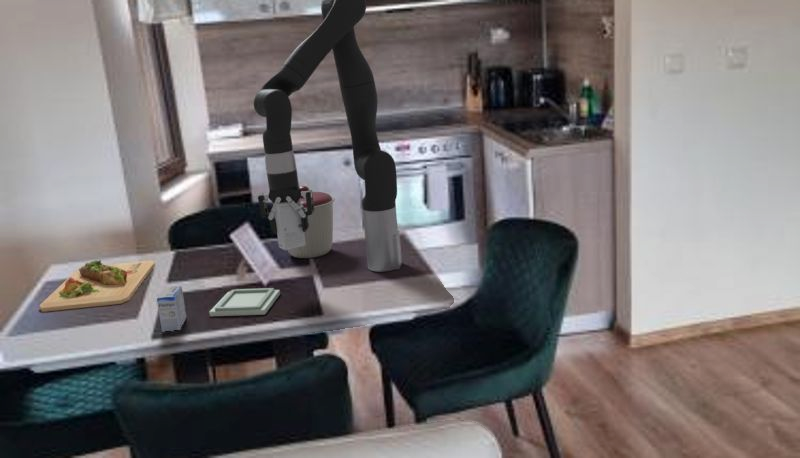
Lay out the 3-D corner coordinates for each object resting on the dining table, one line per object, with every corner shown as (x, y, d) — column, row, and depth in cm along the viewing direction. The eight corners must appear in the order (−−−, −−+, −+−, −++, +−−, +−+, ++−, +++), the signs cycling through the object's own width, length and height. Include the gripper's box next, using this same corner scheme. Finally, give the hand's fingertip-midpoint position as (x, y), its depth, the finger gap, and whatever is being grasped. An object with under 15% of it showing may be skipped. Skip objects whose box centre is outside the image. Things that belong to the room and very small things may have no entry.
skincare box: (285, 251, 193) (278, 205, 190) (278, 247, 197) (271, 202, 194) (307, 245, 196) (300, 199, 193) (299, 241, 200) (293, 197, 197)
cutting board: (127, 305, 202) (122, 278, 200) (37, 314, 201) (31, 287, 199) (157, 265, 236) (153, 242, 234) (80, 272, 234) (75, 249, 232)
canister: (273, 264, 225) (264, 194, 219) (290, 246, 242) (282, 181, 236) (333, 261, 222) (325, 191, 216) (345, 243, 239) (338, 178, 234)
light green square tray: (280, 294, 198) (279, 287, 198) (265, 314, 185) (264, 307, 185) (228, 296, 200) (227, 289, 200) (210, 316, 187) (208, 309, 186)
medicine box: (168, 320, 187) (163, 287, 185) (187, 318, 187) (181, 285, 185) (162, 332, 179) (155, 298, 177) (181, 330, 179) (175, 296, 177)
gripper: (312, 164, 194) (320, 226, 198) (258, 168, 196) (267, 229, 200) (305, 170, 187) (314, 234, 191) (249, 174, 189) (259, 238, 193)
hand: (290, 231), depth 196 cm, fingers closed on skincare box, 7 cm apart
